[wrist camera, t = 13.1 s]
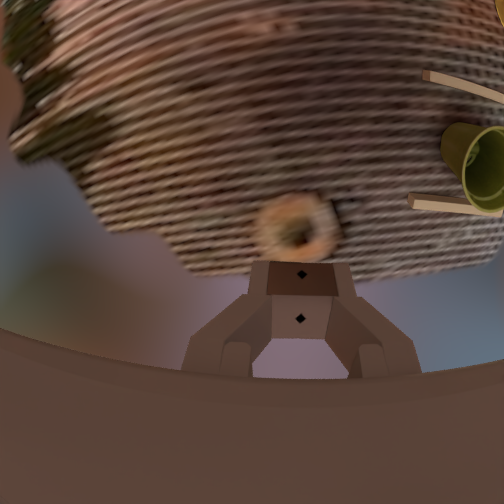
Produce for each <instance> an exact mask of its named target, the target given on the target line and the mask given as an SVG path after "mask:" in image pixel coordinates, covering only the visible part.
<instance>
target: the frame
mask: <svg viewBox="0 0 504 504" xmlns="http://www.w3.org/2000/svg"><path fill="white" fill-rule="evenodd" d="M422 80H426V81H430V82H434V83H438V84H442V85H446V86H450V87H453V88H457V89H460V90H464V91H467V92H470V93H473V94H476V95H479V96H482V97H485V98H488V99H491V100H494V101H497V102H499V103H502V104H504V94H502V93H499V92H497V91H494V90H491V89H489V88H486V87H483V86H480V85H477V84H475V83H472V82H468V81H465V80H462V79H459V78H456V77H452V76H449V75H445V74H441V73H438V72H434V71H429V70H423V76H422ZM407 202H408V203H409V204H410V206H411V207H412V208H413V209H423V210H435V211H446V212H457V213H467V214H476V215H485V216H494V217H501V216H502V213H503V210H501V211H498V212H495V213H486V212H482V211H479V210H478V209H476V208H475V207H474V206H473V205H472V204H471V203H470V202H469V201H468V199H464V198H456V197H447V196H438V195H429V194H419V193H409V195H408V200H407Z"/></svg>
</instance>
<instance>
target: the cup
mask: <svg viewBox="0 0 504 504" xmlns="http://www.w3.org/2000/svg"><path fill="white" fill-rule="evenodd" d="M495 4H496V8H497V12H498V15H499V18H500V20H501V22H502V24H503V27H504V0H495Z"/></svg>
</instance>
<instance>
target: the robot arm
mask: <svg viewBox="0 0 504 504" xmlns="http://www.w3.org/2000/svg"><path fill="white" fill-rule="evenodd" d="M271 338H301V339H325V341H326V342H327V344H328V345H329V347H330V348H331V349H332V351H333V352H334V353H335V355H336V356H337V357H338V358H339V360H340V361H341V363H342V364H343V365H344V366H345V368H346V369H347V370H348V372H349V375H348V377H347V379H279V378H277V379H276V378H256V377H253V370H252V363H253V362H254V361H255V359H256V358H257V357H258V356H259V354H260V353H261V352H262V351H263V350H264V348H265V347H266V346H267V345H268V343H269V342H270V341H271ZM0 504H504V359H502V360H498V361H493V362H488V363H484V364H478V365H473V366H467V367H461V368H455V369H448V370H441V371H434V372H427V373H422V371H421V367H420V364H419V360H418V357H417V354H416V350H415V347H414V344H413V341H412V340H411V339H410V338H409V337H407V336H406V335H405V334H404V333H403V332H402V331H401V330H399V329H398V328H397V327H396V326H395V325H394V324H392V323H391V322H390V321H389V320H388V319H387V318H386V317H384V316H383V315H382V314H381V313H380V312H379V311H377V310H376V309H375V308H374V307H373V306H372V305H370V304H369V303H368V302H367V301H366V300H365V299H363V298H362V297H357V295H356V291H355V287H354V283H353V279H352V275H351V271H350V267H349V264H348V263H301V262H280V261H270V262H269V261H253V263H252V269H251V275H250V281H249V288H248V294H242V295H241V296H240V297H239V298H238V299H236V300H235V301H234V302H233V303H232V304H230V305H229V306H228V307H227V308H226V309H224V310H223V311H222V312H221V313H219V314H218V315H217V316H216V317H215V318H214V319H212V320H211V321H210V322H209V323H207V324H206V325H205V326H204V327H202V328H201V329H200V330H199V331H197V333H195V334H194V335H193V336H191V338H190V341H189V345H188V347H187V351H186V354H185V357H184V361H183V364H182V367H181V370H174V369H167V368H161V367H154V366H148V365H142V364H137V363H131V362H126V361H121V360H116V359H111V358H106V357H101V356H97V355H92V354H88V353H83V352H80V351H76V350H71V349H68V348H64V347H60V346H57V345H53V344H49V343H46V342H42V341H39V340H36V339H32V338H29V337H26V336H22V335H20V334H16V333H14V332H11V331H8V330H5V329H2V328H0Z"/></svg>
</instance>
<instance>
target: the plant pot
mask: <svg viewBox="0 0 504 504" xmlns="http://www.w3.org/2000/svg"><path fill="white" fill-rule="evenodd" d="M440 152H441V156H442V158H443V160H444V162H445V163H446V164H447V165H448V167H449V168H450V169H451V170H452V171H453V173H454V174H455V175H456V176H457V178H458V179H459V180H460V181H461V183H462V187H463V190H464V193H465V195H466V197H467V199H468V201H469V202H470V203H471V204H472V205H473V206H474V207H475V208H476V209H478V210H479V211H482V212H486V213H495V212H498V211H501V210H503V209H504V127H503V126H491V127H487V128H485V127H481V126H476V125H472V124H467V123H462V122H458V123H454V124H452V125H450V126H449V127H448V128H447V129H446V130H445V131H444V133H443V135H442V138H441V148H440ZM471 156H472V158H471V160H470V161H469V162H468V163H466V162H467V160H468V159H469V158H470V157H471Z"/></svg>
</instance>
